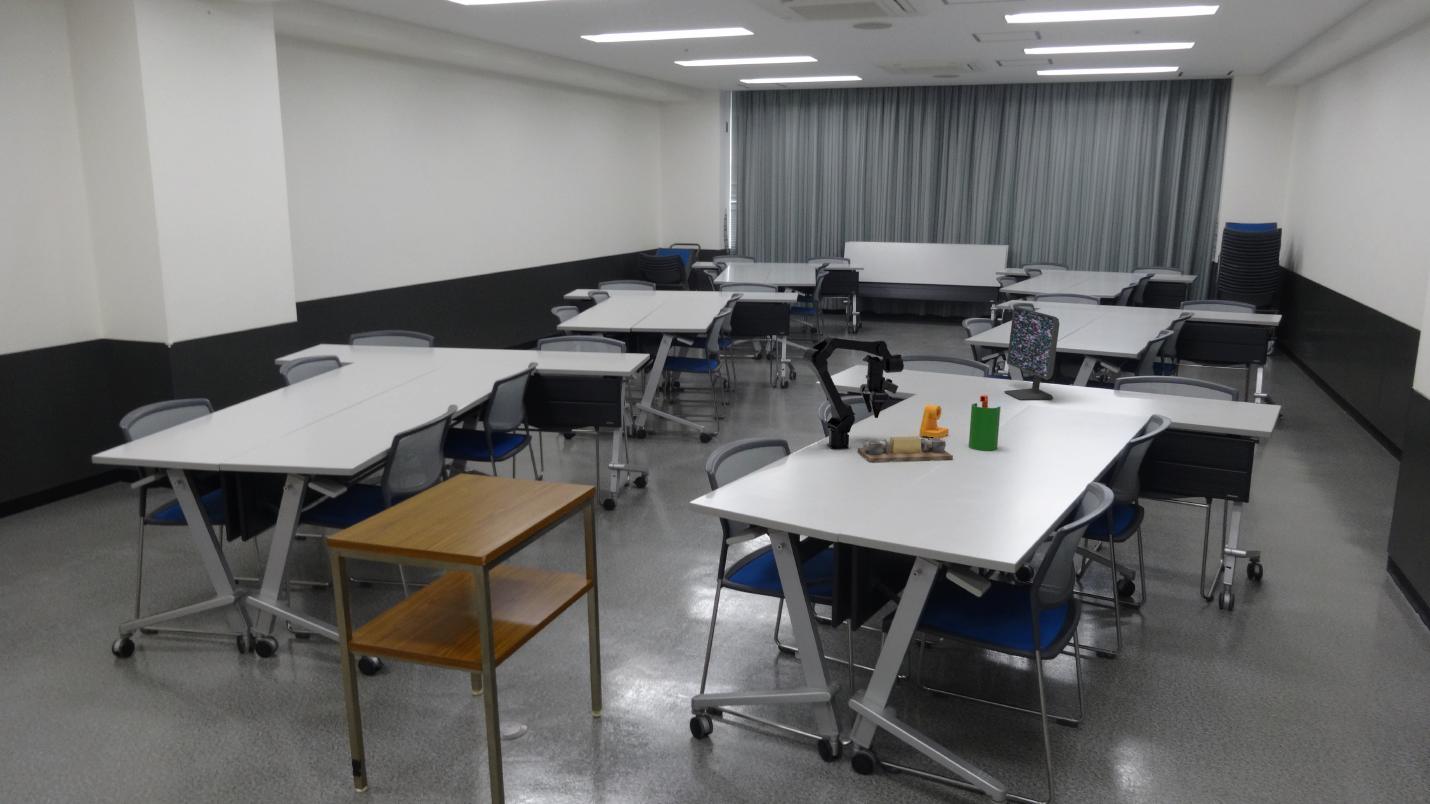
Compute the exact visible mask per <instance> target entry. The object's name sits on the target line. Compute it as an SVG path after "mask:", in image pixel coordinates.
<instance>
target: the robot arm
mask: <svg viewBox="0 0 1430 804" xmlns="http://www.w3.org/2000/svg"><path fill="white" fill-rule="evenodd" d="M836 349H840V350H841V349H842V350H850V351H861V352H864V353H867V355H866V356H865V357H864V358H863V359H862V361H863V362H866V363H867V373H866V374H865V378H866V383H862V384H861V385H860V386H859V392H860V395H861V396H862V399H863V402H864V404H865V407H866V410H867V413H873V416H874V418H875V419H878V418H879V416H880V412H881V410H882V408H883V405H884V404H885V403H888V401H890V395H889V393H892V394H894V395H896V393H897V391H898V389H899V385H897V384H896V383H894V382H893V379H890V378H886V377H884V372H885V373H886V374H890V373H891V374H892V373H893V374H894V373H901V372H903V370H904V368H905V367H904V366H905V363H904V360H903V358H902V354H901V353H894V354H891V352H890V351H889V349H888V344H887V342H886V341H884V340H881V339H877V338H865V339H853V338H845V337H835V336H832V335H829V336H826V338H824V339H823V340H821V341H819V342H818V343H816V344H814V345H813V346H812V347H810V348H806V350H805V351H804V353H803V357H802V359H803V361H804V363H806V366H808V368H809V369H810V370H811V371H812V372H813V373H814V374H815V376H816V378H817V380H818V382H819V384H820V387H821V389H822V391H823V392H824V394H825V396H826V398H827V401H828V403H829V404H830V414H831V417H830V419H829V420H828V421H827V422H826V428H827V429H829V430H828V443H826V445H827V446H828V447H829V448H830V449H832V450H836V449H837V450H838V449H839V450H842V449H849V447H850V446H849V445H850V435H849V433H850V432H851V429H852V427H853V425H854V423H855V421H856V416H855V415H856V413H855V412H854V411H853V408H852V405H850V404H848V403H846V402H844V401H843V399H842V397H841V395H840V393H839V391H838V388H837V387H836V384H835V383H834V380H833V377H832V376H831V374H830V372H829V368H828V367H829V365H828V363H829V362H828V359H829V358H830V357H831V356H832V354H833V353H834V351H835V350H836ZM869 354H871V355H874V356H871V355H869ZM886 391H887V392H889V393H887V392H886Z"/></svg>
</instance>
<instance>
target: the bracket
mask: <svg viewBox="0 0 1430 804" xmlns="http://www.w3.org/2000/svg"><path fill="white" fill-rule="evenodd" d="M941 415H942V407H941V405H936V404H926V405H925V407H924V410H923V414H922V419H921V423H920V428H919V436H922V437H926V436H927V437H926V438H931V437H933V438H941V439H944V438H946V437H947V435H949V431H950V428H948V427H945V426H944V427H943V426H938V422H937V421H939V420H940V418H941ZM945 436H946V437H945Z"/></svg>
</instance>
